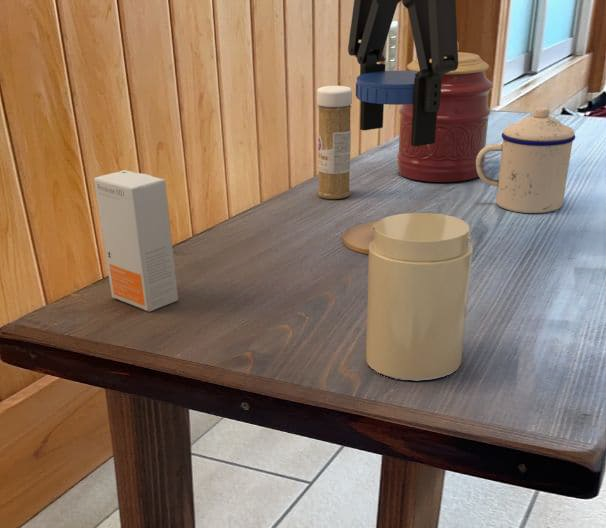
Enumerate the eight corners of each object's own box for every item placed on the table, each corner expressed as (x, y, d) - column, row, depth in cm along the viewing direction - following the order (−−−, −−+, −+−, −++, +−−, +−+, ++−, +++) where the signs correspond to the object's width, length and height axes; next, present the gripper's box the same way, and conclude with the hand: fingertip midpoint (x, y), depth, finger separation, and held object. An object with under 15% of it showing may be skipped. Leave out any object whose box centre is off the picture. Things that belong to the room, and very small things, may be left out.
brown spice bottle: (312, 194, 119) (310, 86, 111) (341, 189, 121) (341, 83, 113) (327, 202, 116) (326, 91, 108) (356, 197, 117) (358, 88, 109)
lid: (339, 95, 94) (340, 76, 93) (405, 86, 98) (406, 67, 97) (388, 108, 88) (389, 87, 87) (456, 98, 92) (458, 78, 90)
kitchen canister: (477, 161, 132) (490, 30, 122) (490, 183, 122) (505, 41, 111) (393, 163, 133) (399, 32, 122) (399, 184, 122) (406, 43, 112)
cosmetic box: (110, 299, 88) (91, 177, 81) (142, 287, 91) (126, 168, 84) (148, 313, 85) (131, 187, 78) (180, 301, 87) (167, 178, 80)
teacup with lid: (561, 196, 116) (576, 101, 109) (567, 215, 109) (583, 115, 102) (472, 194, 118) (481, 100, 111) (471, 213, 110) (481, 114, 104)
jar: (465, 345, 78) (478, 213, 71) (456, 385, 71) (470, 245, 64) (374, 337, 79) (378, 208, 72) (357, 376, 73) (360, 239, 66)
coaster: (448, 228, 106) (448, 223, 105) (437, 259, 96) (437, 254, 96) (353, 223, 108) (353, 218, 108) (333, 253, 99) (333, 248, 98)
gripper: (315, -116, 88) (316, 123, 101) (449, -122, 73) (429, 160, 86) (375, -116, 91) (368, 116, 104) (515, -122, 76) (486, 150, 89)
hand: (396, 136), depth 95 cm, fingers closed on lid, 9 cm apart
